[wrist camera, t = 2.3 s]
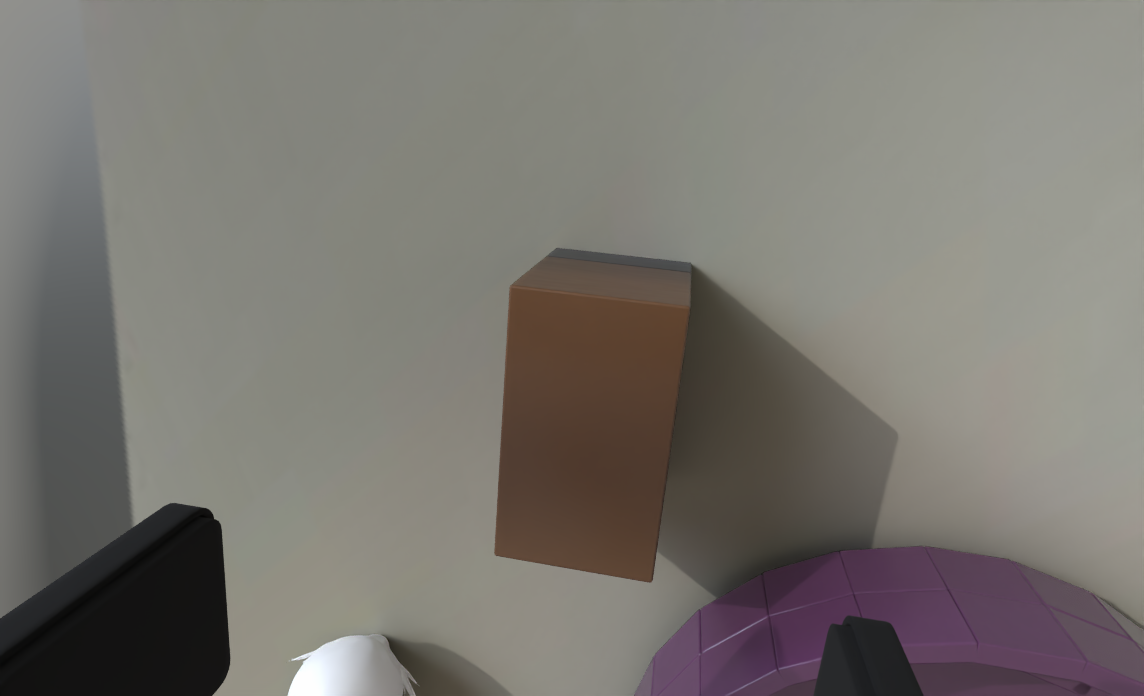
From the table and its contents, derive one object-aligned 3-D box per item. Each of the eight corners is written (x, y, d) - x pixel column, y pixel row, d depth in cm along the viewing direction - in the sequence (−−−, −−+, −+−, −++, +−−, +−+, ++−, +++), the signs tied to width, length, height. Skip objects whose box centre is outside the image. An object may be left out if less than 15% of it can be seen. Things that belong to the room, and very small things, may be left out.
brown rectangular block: (555, 247, 21) (509, 284, 15) (691, 262, 20) (690, 306, 15) (539, 460, 23) (493, 556, 18) (661, 479, 22) (651, 583, 17)
